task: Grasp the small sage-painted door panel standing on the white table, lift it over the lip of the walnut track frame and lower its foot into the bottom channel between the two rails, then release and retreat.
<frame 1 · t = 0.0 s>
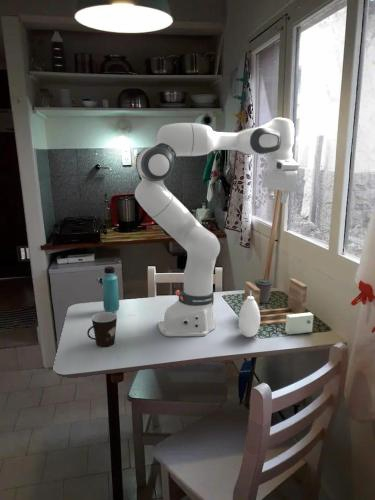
hand: (277, 201, 145), 48 cm above the table, fingers open, 8 cm apart
beverage bottle: (111, 313, 160), on the table
track frame: (273, 318, 156), on the table
coffee mug: (101, 344, 134), on the table
door panel: (298, 331, 145), on the table
sauce bottle: (248, 336, 141), on the table
coffee cup: (262, 301, 175), on the table
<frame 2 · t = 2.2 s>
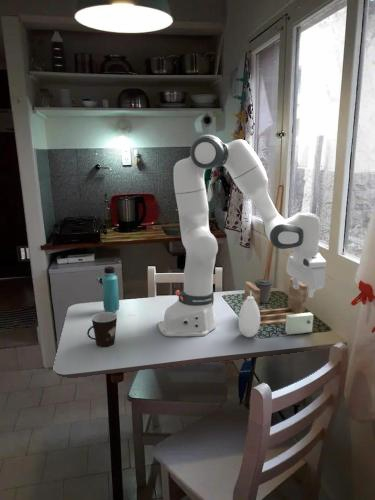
hand: (302, 292, 141), 16 cm above the table, fingers open, 8 cm apart
nothing on the table moved.
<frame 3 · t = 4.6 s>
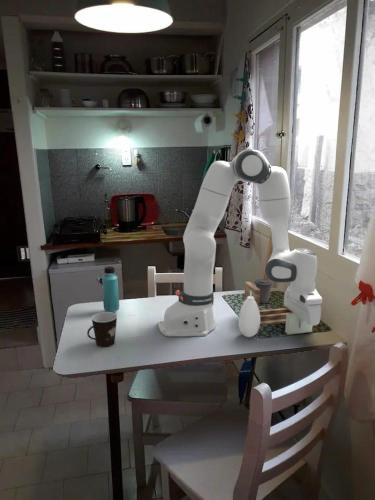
hand: (299, 326, 144), 2 cm above the table, fingers closed on door panel, 2 cm apart
door panel: (298, 331, 145), on the table, touching gripper
everything else where it was.
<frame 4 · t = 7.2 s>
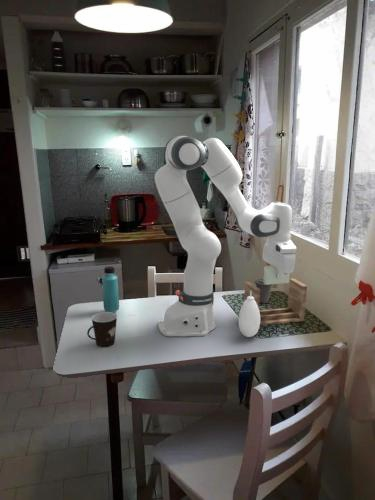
hand: (276, 277, 152), 18 cm above the table, fingers closed on door panel, 2 cm apart
door panel: (276, 282, 152), point 15 cm above the table, touching gripper
everything else where it was.
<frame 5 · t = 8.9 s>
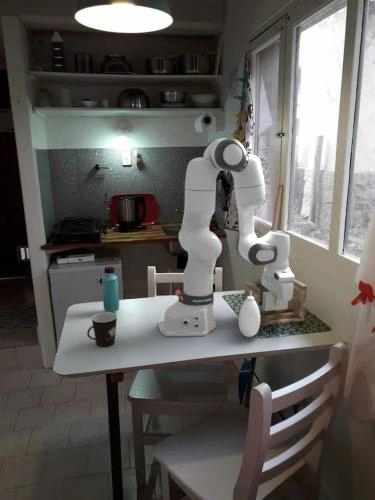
hand: (275, 303, 154), 7 cm above the table, fingers closed on door panel, 2 cm apart
door panel: (274, 308, 155), point 4 cm above the table, touching gripper
everything else where it was.
when the fingers open (5 cm above the table, at t = 10.0 s): door panel drops 1 cm, resting on track frame.
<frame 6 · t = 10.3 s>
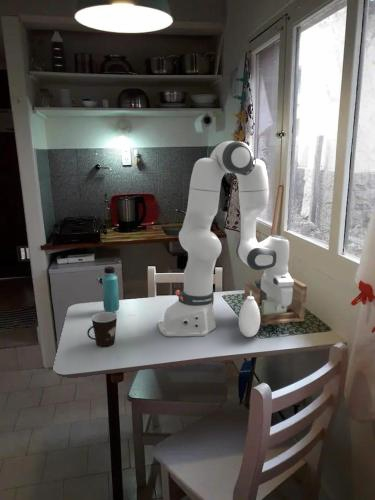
hand: (273, 307, 155), 5 cm above the table, fingers open, 5 cm apart
door panel: (273, 316, 156), point 1 cm above the table, touching track frame
everything else where it was.
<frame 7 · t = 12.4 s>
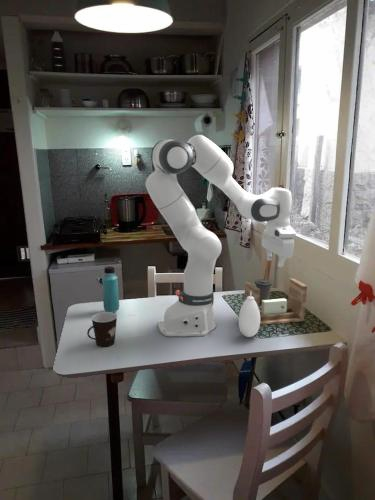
hand: (274, 263, 152), 23 cm above the table, fingers open, 8 cm apart
nothing on the table moved.
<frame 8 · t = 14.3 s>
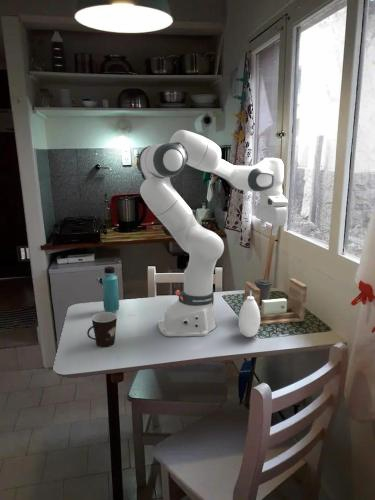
hand: (268, 232, 156), 34 cm above the table, fingers open, 8 cm apart
nothing on the table moved.
at the end: door panel inside the target area on the track frame (0.0 cm from its centre), point 1.0 cm above the track frame's base; door panel tilted 0°; the gripper is holding nothing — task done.
